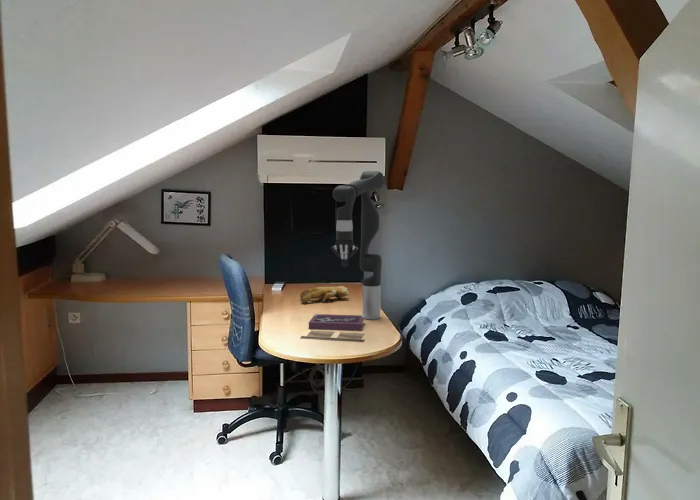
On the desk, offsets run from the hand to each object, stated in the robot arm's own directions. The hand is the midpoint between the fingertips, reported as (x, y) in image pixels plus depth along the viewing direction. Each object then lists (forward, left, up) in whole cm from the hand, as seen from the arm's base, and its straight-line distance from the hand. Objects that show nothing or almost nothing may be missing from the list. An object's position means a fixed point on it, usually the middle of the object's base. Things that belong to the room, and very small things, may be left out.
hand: (344, 266), depth 253 cm
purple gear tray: (-6, -5, -32) cm, 33 cm away
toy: (-62, -26, -32) cm, 74 cm away
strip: (+18, -2, -31) cm, 36 cm away
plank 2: (+11, +5, -31) cm, 33 cm away
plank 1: (+11, -9, -31) cm, 34 cm away
